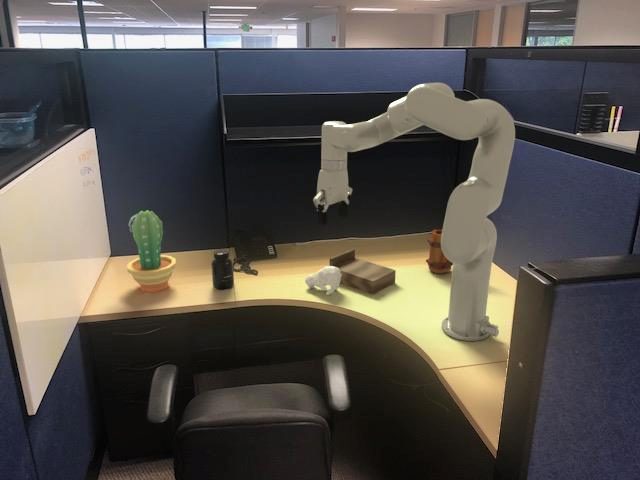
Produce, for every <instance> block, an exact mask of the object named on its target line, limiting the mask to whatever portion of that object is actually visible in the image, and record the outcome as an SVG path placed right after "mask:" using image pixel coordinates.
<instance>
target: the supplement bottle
mask: <svg viewBox="0 0 640 480" xmlns="http://www.w3.org/2000/svg"><path fill="white" fill-rule="evenodd" d="M210 265H211V279H212V280H211V281H212V287H213V288H214V289H215V290H218V291H225V290H226V291H227V290H229V289H232V288H233V287H234V285H235V277H234V276H235V275H234V274H235V273H234V262H233V260H232V258H230V251H229V250H228V249H225V248H224V249H223V248H221V249H216V250H214V251H213V259H212V260H211V264H210Z"/></svg>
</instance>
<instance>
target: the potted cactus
mask: <svg viewBox="0 0 640 480" xmlns="http://www.w3.org/2000/svg"><path fill="white" fill-rule="evenodd" d="M128 221H129V222H128V227H129V231H130V233H132V236H133V240H134V241H135V243H136V245H137V250H138V256H139V257H137V258H134V259H133V260H131V261H129V262H127V264H126V270H127V272H128V273H129V274H131V277H132V278H133V280H134V282H136V283H137V284H138V285H139V286H140V287H139V288H140V290H141V291H143V292H147V293H148V292H149V293H152V292H153V293H154V292H159V291H162V290H165V289H166V288H168V287H169V281H170V279H171V278H172V275H173V272H174V269H175V268H176V262H177V260H176V258H175V257H173V256H171V255H166V254H165V255H163V254H161V253H162V251H161V247H162V246H161V244H162V240H163V235H164V230H163V229H164V227H163V222H162V220H161V219H160V218H159V216H157V215H156V213H155V212H154V211H153V210H151V211H149V209H147V210H145V211H143V210H140V211H139V212H138V213H136V214H134V215H132V216H131V218H130V219H129V220H128Z"/></svg>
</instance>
